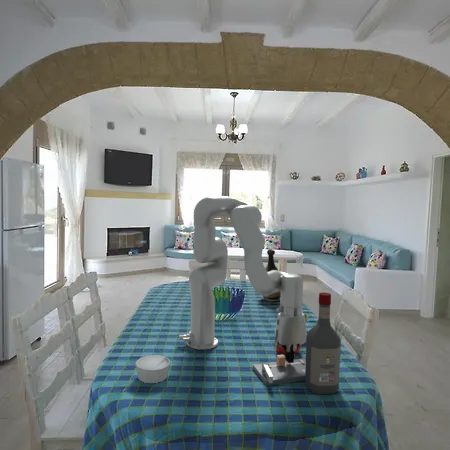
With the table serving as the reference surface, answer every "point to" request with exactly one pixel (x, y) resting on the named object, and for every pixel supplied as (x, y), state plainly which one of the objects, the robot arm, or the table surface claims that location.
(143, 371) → the ramekin
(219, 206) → the robot arm
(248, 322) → the table surface
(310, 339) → the liquor
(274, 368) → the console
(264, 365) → the silver metal bar
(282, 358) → the fader knob
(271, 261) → the ceramic jug
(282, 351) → the pomegranate
